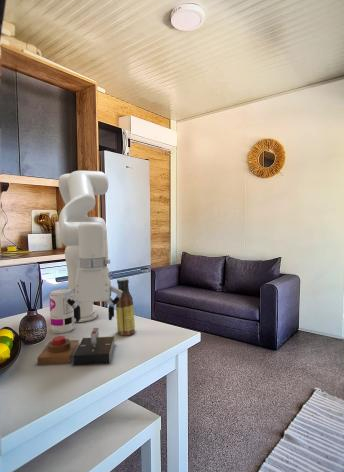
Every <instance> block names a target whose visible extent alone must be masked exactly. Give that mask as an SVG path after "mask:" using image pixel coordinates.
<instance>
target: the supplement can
mask: <svg viewBox="0 0 344 472" xmlns="http://www.w3.org/2000/svg"><path fill="white" fill-rule="evenodd" d="M68 291H70V289H68V288H58V289H54V290H51V291H50V293H49V296H48V297H49V318H50V319H49V321H50V332H52V333H54V334H65V333H69V332H71V331H72V330H73V329H74V328H75V322H74V311H73V308H72V306H71V305H69V304H68V303H67V300H66V299H65V297H64V294H65V293H66V292H68ZM70 297H71V299H73V294H72V295H70Z"/></svg>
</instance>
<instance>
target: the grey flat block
mask: <svg viewBox="0 0 344 472" xmlns="http://www.w3.org/2000/svg"><path fill="white" fill-rule="evenodd" d="M99 334H100V333H99V327H94V328H92V330H91V333H90V338H91V348H97V345H98V343H99V337H100V336H99Z"/></svg>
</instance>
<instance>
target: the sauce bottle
mask: <svg viewBox="0 0 344 472" xmlns="http://www.w3.org/2000/svg"><path fill="white" fill-rule="evenodd" d="M129 282H130V281H129V278H126V277H123V278H118V279H116V283H117V289H119V290H121V291H123V293H122V295H121V297H120V299H119V301H118V302H117V303H116V304H115V310H116V311H115V312H116V314H115V315H116V326H117V327H116V328H117V333H118V335H119V336H130V335H133V334H135V332H136V331H135V328H136V325H135V311H134V300H133V296H132V295H131V292H130V289H129Z"/></svg>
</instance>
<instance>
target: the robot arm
mask: <svg viewBox="0 0 344 472" xmlns="http://www.w3.org/2000/svg"><path fill="white" fill-rule="evenodd" d="M58 190H59V193H60V196H61V198H62V201H63V203H64V206H63V207H62V209H61V210H60V213H59V215H58V234H59V240H60V243H62V245H64V246H66V247H65V249H64V258H65V263H66V269H67V285H68V287H67V289H70V291H68V292H66V293H65V294H64V297H65V299H66V300H67V303H68V304H69V305H71V306H72V308H73V311H74V323H86V322H90V321H92V320H95V319H96V318H98V317H97V316H98V314H97V311H94V305H93V303H97V302H98V303H99V302H106V304H108V308H107V309H108V311H107V313H108V320H109V321H112V319H113V317H114V318H115V306H116V303H117V302H118V301H119V299H120V297H121V295H122V293H123V291H121V290H119V289H118V287H114V286H113V285H112V282H111V274H110V269H109V266H106V265H108V264H111V259H110V258H109V247H108V244H109V243H108V232H107V231H108V230H107V229H108V228H107V224H106V221H105V219H104V218H102V217H99V216H88V213H89V212H91V211H93V209H94V208H95V207H96V204H97V202H96V197H95V196H102V195H105V194H106V193H108V190H109V179H108V176H107V175H106V173H104V172H103V171H99V170H75V171H72V172H71V173H70V172H69V173H64V174H61V175H60V176H59V178H58ZM112 293H114V294H116V295H115V298H114V299H113V298H112ZM72 294H73V299H71V297H70V295H72Z"/></svg>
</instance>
